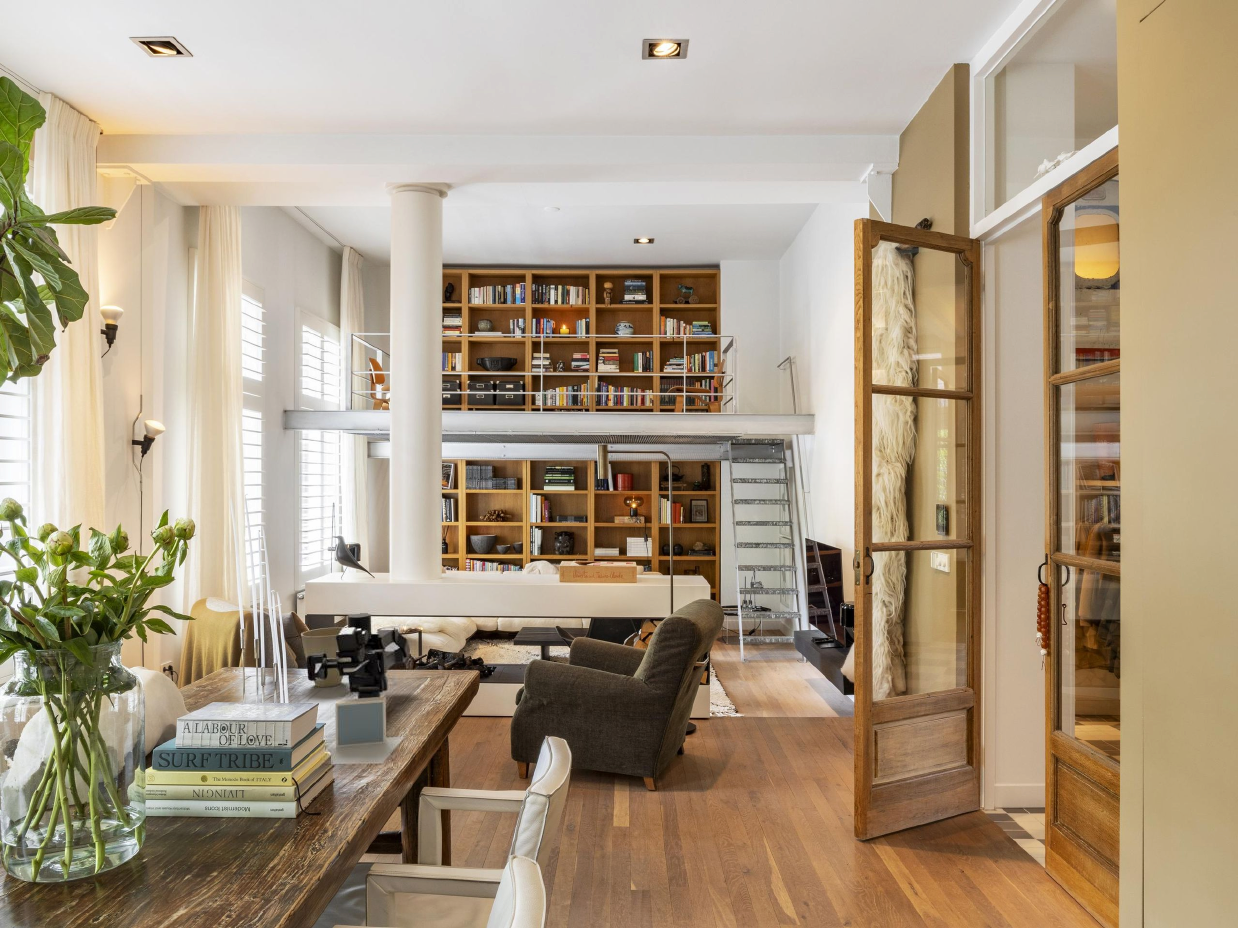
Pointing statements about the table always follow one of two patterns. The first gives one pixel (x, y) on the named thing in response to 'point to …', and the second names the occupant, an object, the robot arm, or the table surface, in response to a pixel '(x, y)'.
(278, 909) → the table surface
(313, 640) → the plant pot
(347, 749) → the mat
